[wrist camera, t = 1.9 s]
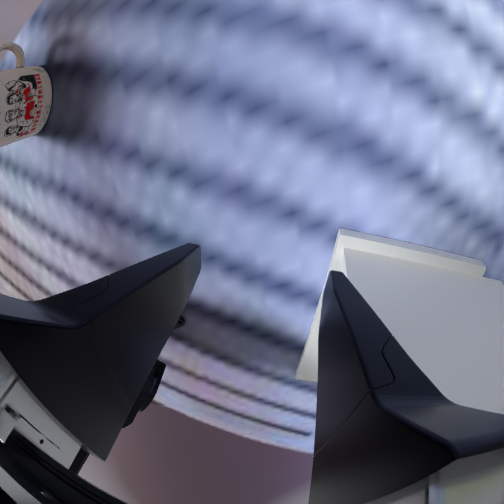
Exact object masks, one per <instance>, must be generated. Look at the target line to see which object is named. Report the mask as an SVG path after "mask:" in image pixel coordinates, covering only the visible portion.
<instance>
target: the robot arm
mask: <svg viewBox="0 0 504 504" xmlns="http://www.w3.org/2000/svg"><path fill="white" fill-rule="evenodd" d="M200 269H201V248H200V246H199V245H197V244H192V243H188V244H185V245H182V246H180V247H177V248H175V249H172V250H169V251H167V252H164V253H162V254H159V255H157V256H154V257H152V258H149V259H147V260H144V261H142V262H139V263H137V264H134V265H132V266H129V267H127V268H124V269H122V270H120V271H117V272H115V273H112V274H110V275H107V276H105V277H103V278H100V279H98V280H95V281H93V282H90V283H88V284H85V285H82V286H79V287H77V288H74V289H71V290H68V291H65V292H62V293H59V294H56V295H53V296H51V297H48V298H45V299H42V300H37V301H24V300H20V299H16V298H13V297H9V296H6V295H3V294H0V504H129V503H127V502H125V501H123V500H121V499H119V498H117V497H115V496H113V495H111V494H109V493H107V492H105V491H104V490H102V489H100V488H98V487H97V486H95V485H93V484H92V483H90V482H88V481H86V480H85V479H83V478H82V477H80V476H78V473H79V471H80V469H81V468H82V466H83V464H84V463H85V461H86V459H87V458H88V456H89V454H92V455H93V456H95V457H97V458H99V459H100V460H102V461H106V459H107V457H108V455H109V453H110V451H111V449H112V446H113V445H114V443H115V441H116V439H117V437H118V435H119V432H120V430H121V428H124V427H126V426H128V425H130V424H131V423H132V422H133V420H134V418H135V416H136V414H137V413H138V412H142V411H143V410H144V409H145V408H146V407H147V406H148V405H149V404H150V403H151V401H152V400H153V398H154V396H155V394H156V392H157V390H158V387H159V384H160V381H161V378H162V376H163V373H164V370H165V367H166V364H164V363H163V362H160V361H159V360H158V359H157V358H158V356H159V355H160V353H161V351H162V349H163V347H164V345H165V343H166V342H167V340H168V338H169V336H170V334H171V332H172V331H173V330H174V329H176V328H178V327H181V326H183V325H184V323H185V320H184V318H183V317H182V316H181V314H182V312H183V310H184V309H185V307H186V304H187V302H188V300H189V297H190V295H191V292H192V290H193V287H194V285H195V282H196V280H197V278H198V275H199V273H200ZM309 504H504V414H499V413H494V412H489V411H484V410H479V409H475V408H470V407H466V406H462V405H458V404H456V403H454V402H452V401H450V400H449V399H447V398H446V397H445V396H444V395H443V394H442V393H441V392H440V391H439V390H438V388H437V387H436V386H435V385H434V384H433V383H432V382H431V380H430V379H429V378H428V377H427V376H426V375H425V374H424V372H423V371H422V370H421V369H420V368H419V367H418V366H417V365H416V363H415V362H414V361H413V360H412V359H411V358H410V356H409V355H408V354H407V353H406V351H405V350H404V349H403V348H402V346H401V345H400V344H399V343H398V341H397V340H396V339H395V337H394V336H392V333H391V332H390V331H389V330H388V328H387V327H386V326H385V324H384V323H383V322H382V320H381V319H380V318H379V317H378V315H377V314H376V313H375V312H374V310H373V309H372V308H371V307H370V305H369V304H368V303H367V302H366V300H365V299H364V298H363V297H362V295H361V294H360V293H359V292H358V290H357V289H356V288H355V287H354V285H353V284H352V283H351V282H350V281H349V279H348V278H347V277H346V276H345V275H344V273H343V272H340V271H334V270H331V271H330V272H329V275H328V278H327V282H326V285H325V289H324V293H323V299H322V308H321V316H320V324H319V334H318V385H317V410H316V429H315V443H314V457H313V467H312V477H311V487H310V496H309Z"/></svg>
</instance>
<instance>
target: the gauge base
mask: <svg viewBox="0 0 504 504" xmlns="http://www.w3.org/2000/svg"><path fill="white" fill-rule="evenodd" d="M486 269H487V267H486V266H485V264H484V263H483V262H482V261H481V260H477V259H473V258H469V257H465V256H462V255H458V254H454V253H450V252H446V251H442V250H437V249H433V248H429V247H425V246H421V245H416V244H412V243H408V242H403V241H399V240H394V239H390V238H385V237H381V236H376V235H371V234H367V233H362V232H357V231H352V230H347V229H342V228H339V231H338V235H337V239H336V243H335V247H334V250H333V254H332V258H331V262H330V265H329V269H328V273H327V276H326V280H325V283H324V287H323V290H322V293H321V297H320V300H319V303H318V307H317V310H316V313H315V316H314V319H313V323H312V326H311V329H310V332H309V335H308V338H307V341H306V344H305V347H304V350H303V353H302V355H301V358H300V361H299V364H298V367H297V369H296V374H295V379H299V380H305V381H312V382H318V334H319V324H320V316H321V308H322V299H323V293H324V289H325V285H326V282H327V278H328V275H329V272H330V271H331V270H334V271H340V272H343V273H344V275H345V276H346V277H347V278H348V279H349V281H350V282H351V283H352V284H353V285H354V287H355V288H356V289H357V290H358V292H359V293H360V294H361V295H362V297H363V298H364V299H365V300H366V302H367V303H368V304H369V305H370V307H371V308H372V309H373V310H374V312H375V313H376V314H377V315H378V317H379V318H380V319H381V320H382V322H383V323H384V324H385V326H386V327H387V328H388V330H389V331H390V332H391V333H392V336H394V337H395V339H396V340H397V341H398V343H399V344H400V345H401V346H402V348H403V349H404V350H405V351H406V353H407V354H408V355H409V356H410V358H411V359H412V360H413V361H414V362H415V363H416V365H417V366H418V367H419V368H420V369H421V370H422V371H423V372H424V374H425V375H426V376H427V377H428V378H429V379H430V380H431V382H432V383H433V384H434V385H435V386H436V387H437V388H438V390H439V391H440V392H441V393H442V394H443V395H444V396H445V397H446V398H447V399H449V400H450V401H452V402H454V403H456V404H458V405H462V406H466V407H470V408H475V409H479V410H484V411H489V412H494V413H499V414H504V284H503V283H502V281H499V280H495V279H490V278H486V277H483V275H484V273H485V271H486Z"/></svg>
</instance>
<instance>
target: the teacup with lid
mask: <svg viewBox="0 0 504 504" xmlns="http://www.w3.org/2000/svg"><path fill="white" fill-rule="evenodd" d="M3 49H7V50H10V51H12V52H13V53H14V54H15V56H16V59H17V64H16V68H15V69H9V70H3V71H0V147H3V146H5V145H8V144H10V143H13V142H16V141H19V140H21V139H24V138H27V137H30V136H33V135H35V134H37V133H38V132H39V131H40V130H41V129H42V128H43V126H44V125H45V123H46V121H47V119H48V116H49V113H50V109H51V102H52V86H51V81H50V77H49V75H48V73H47V72H46V70H45V69H43V68H42V67H40V66H32V67H24V60H25V59H24V52H23V50H22V48H21V47H20V46H19V45H17V44H15V43H4V44H2V45H0V51H1V50H3Z"/></svg>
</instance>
